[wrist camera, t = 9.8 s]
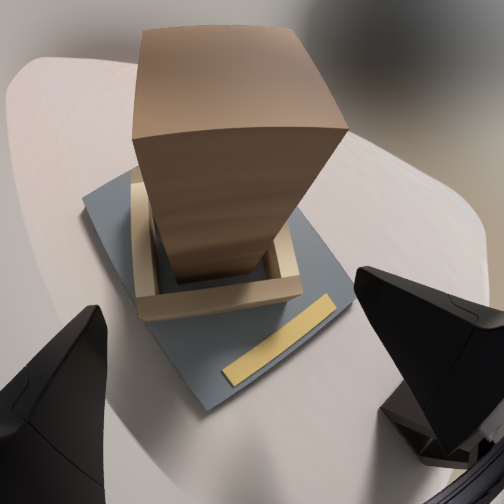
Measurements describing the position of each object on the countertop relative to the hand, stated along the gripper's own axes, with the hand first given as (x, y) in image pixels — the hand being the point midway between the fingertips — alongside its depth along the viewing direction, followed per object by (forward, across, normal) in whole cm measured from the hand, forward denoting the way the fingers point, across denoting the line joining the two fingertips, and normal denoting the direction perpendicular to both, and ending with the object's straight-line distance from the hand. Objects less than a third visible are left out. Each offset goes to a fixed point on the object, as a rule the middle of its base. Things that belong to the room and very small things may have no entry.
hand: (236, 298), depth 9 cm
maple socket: (+9, 0, +2) cm, 9 cm away
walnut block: (+9, 0, +2) cm, 9 cm away
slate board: (+10, 0, +3) cm, 10 cm away
